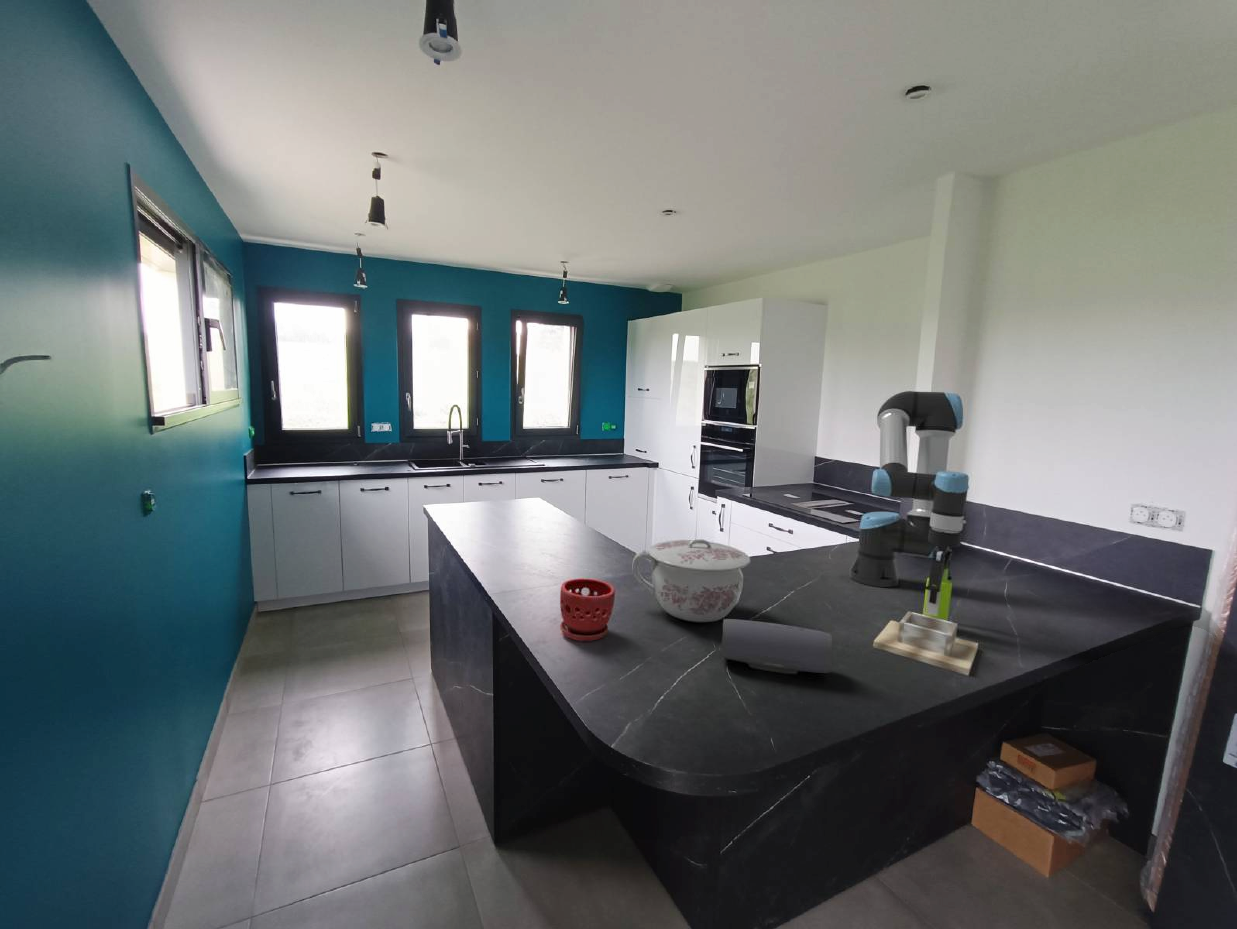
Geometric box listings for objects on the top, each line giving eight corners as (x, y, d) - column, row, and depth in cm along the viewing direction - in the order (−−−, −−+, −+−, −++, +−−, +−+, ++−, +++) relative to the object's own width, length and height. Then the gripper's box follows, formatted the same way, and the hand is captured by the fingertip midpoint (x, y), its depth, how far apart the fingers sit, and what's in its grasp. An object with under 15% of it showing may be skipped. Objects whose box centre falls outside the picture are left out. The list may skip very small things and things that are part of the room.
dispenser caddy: (872, 646, 136) (875, 621, 135) (890, 625, 150) (893, 602, 149) (968, 675, 124) (972, 647, 123) (977, 649, 138) (981, 624, 137)
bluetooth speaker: (823, 666, 125) (828, 623, 123) (829, 687, 116) (834, 641, 114) (721, 651, 130) (724, 610, 128) (719, 669, 121) (722, 625, 119)
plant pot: (571, 649, 126) (573, 598, 125) (550, 626, 138) (552, 580, 136) (621, 640, 132) (624, 592, 131) (598, 619, 144) (600, 574, 142)
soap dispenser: (942, 623, 153) (951, 553, 151) (948, 633, 147) (958, 560, 144) (918, 620, 155) (927, 550, 152) (923, 629, 148) (932, 557, 146)
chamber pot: (764, 615, 153) (771, 542, 150) (708, 644, 133) (714, 560, 130) (682, 587, 172) (686, 522, 169) (622, 609, 151) (626, 535, 149)
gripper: (955, 540, 136) (944, 624, 138) (967, 525, 155) (957, 600, 157) (921, 534, 140) (911, 616, 143) (937, 520, 159) (928, 593, 162)
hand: (935, 608), depth 150 cm, fingers open, 12 cm apart
